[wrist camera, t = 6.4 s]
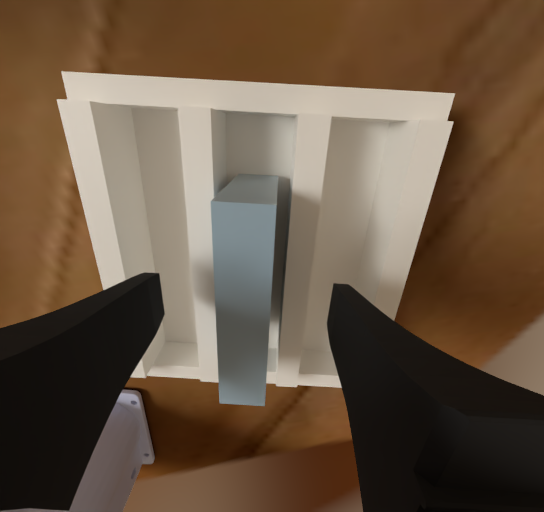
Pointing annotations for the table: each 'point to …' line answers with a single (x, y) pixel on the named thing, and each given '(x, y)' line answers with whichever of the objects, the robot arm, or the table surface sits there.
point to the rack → (290, 200)
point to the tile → (243, 284)
